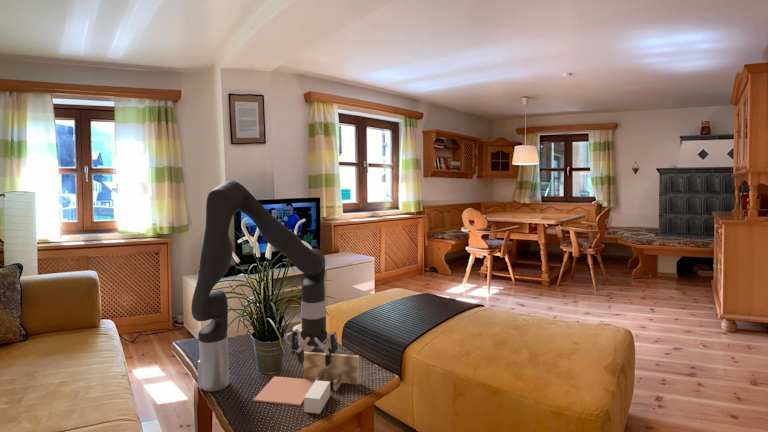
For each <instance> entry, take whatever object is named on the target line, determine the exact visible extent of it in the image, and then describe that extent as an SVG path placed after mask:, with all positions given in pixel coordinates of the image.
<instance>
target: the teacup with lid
mask: <svg viewBox="0 0 768 432" xmlns="http://www.w3.org/2000/svg"><path fill="white" fill-rule="evenodd" d="M296 329H298V331H302V321H300V323H299V324H296V325H294V326H293V327H292V331H291V332H288V333H286V335H285V337H284V339H285V343H287V344H288V345H291V346H292V341H289V340H288V336H292V332H293V331H295V330H296ZM303 341H304V340H303V338H302V337H301V335H300V337H299V338H298V345H299V346H300V345H301V344H302V343H303ZM303 350H304V352H313V350H315V346H309V345H306V346H305V347H304V348H303ZM293 351H294V352H296V353H298V352H297V351H296V350H293Z"/></svg>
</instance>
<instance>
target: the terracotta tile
mask: <svg viewBox="0 0 768 432" xmlns="http://www.w3.org/2000/svg"><path fill="white" fill-rule="evenodd" d="M314 382H315V380H310V379H304V378H296V377H285V376H276V375H275V376H273V377H272V378H271V379H270V380H269V381H268V383H267V384H266V385H265V386H264V387H263V388H262V389H261V390H260V392H259V393H257V395H256V396H255V397H254V398H253V399H252V400H253V402H258V403H259V402H260V403H265V404H266V403H267V404H268V403H269V404H278V405H286V406H287V405H288V406H295V407H301V406H302V404H304V397H305V395H306V394H307V392H308V391H309V389H310V388H311V386H312V385H313V383H314Z"/></svg>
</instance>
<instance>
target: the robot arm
mask: <svg viewBox="0 0 768 432" xmlns="http://www.w3.org/2000/svg"><path fill="white" fill-rule="evenodd" d="M237 212H241V213H242V214H244V215H246V216H247V217H248V218H249V219H250V220H251V221H252V222H253V223H254V224H255V225H256V227H257V229H258V231H259V232H260V234H261V236H262V237H263V239H264V240H265V241H266V242H267V243H268V244H269V245H270V246H271V247H273V248H274V249H275V250H277V251H278V252H279V253H281V254H282V255H284V256H285V257H286V258H287V259H288V261H290V262H291V264H292V265H294V266H295V267H296V269H298V270H299V271H300V272H301V273H302V275H303V282H302V284H301V304H300V305H301V307H300V310H301V311H300V312H301V318H300V319H301V322H302V331H298V329H296V330H295V331H291V332H292V335H291V342H292V345H291V350H292V351H294V350H296V351H297V352H296V351H295V352H296V353H297V361H298V362H299V364H300V365H301V364H303V362H304V350H303V348H304V347H305V346H306V345H309V346H314V348H318V347H320V349H321V350H322V351H323V353H326V355H325V364H326V366H329V364H330V363H331V361H332V358H331V354H336V352H337V351H338V338H337V333H336V332H335V331H333V332H332V333H331V332H328V331H327V308H326V307H327V305H326V299H325V298H326V296H325V295H326V293H325V292H326V291H325V275H326V274H325V273H326V257H325V255H324V252H322V250H320V249H318V248H309V247H308V246H307V245H305V244H304V243H303V242H302V239H301V237H299V236H298V235H297V234H296V233H294V232H293V231H292V230H291V229H289V228H288V227H287V226H286V225H284V224H283V223H281V222H280V221H279V220H278V219H277V218H276V217H274V216H273V215H272V213H270V212H269V211H268V210H267V209H266V207H264V205H263V204H262V203H260V202H259V201H258V199H257V198H256V197H255V196H253V194H252V193H251V192H250V191H249V190H248V189H247V188H246V187H245V186H244V185H243V184H241V183H240V182H238V181H236V180H225V181H224V182H223V183H221V184H219V185H218V186H215V188H213V189H211V190H210V191H209V193H208V194H207V197H206V207H205V229H204V236H203V242H202V248H201V252H200V253H201V254H200V258H199V259H200V260H199V269H198V276H197V281H196V284H195V288H194V292H193V294H192V295H193V296H192V301H191V305H190V306H191V315H192V317H193V319H194V320H195V321H197V322H206V321H210V320H211V321H210V322H209V323H208V324H206V325H205V326H203V327H202V328H201V329H200V330H199V331H198V334H197V337H198V338H197V339H198V351H199V352H198V353H199V359H198V360H197V361H196V364H197V365H196V366H197V381H198V382H197V383H198V384H197V385H198V389H202V391H205V392H217V391H221V390H224V389H225V388H227V387H228V386H229V385H230V369H229V368H230V364H229V344H228V328H229V327H228V326H229V325H228V323H229V320H228V319H229V317H228V316H229V315H228V314H229V306H228V305H229V303H228V298H227V294H226V293H225V292H224V290H221V289H220V290H213V288H214V287H216V285H217V284H218V283H219V282H220V280H222V278H223V277H224V276H226V273H227V272H228V271H229V269H230V267H231V263H232V257H233V252H234V246H233V243H232V240H231V237H230V233H229V232H230V227H231V224H232V223H231V222H232V219H233V217H234V215H235V214H236V213H237ZM300 335H301V337H302V338H303V340H304V341H303V343H302V344H301V345H300V346H299V345H298V338H299V337H300ZM326 338H328V341H330V345H329V342H328V341H327V339H326Z"/></svg>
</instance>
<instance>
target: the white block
mask: <svg viewBox="0 0 768 432" xmlns="http://www.w3.org/2000/svg"><path fill="white" fill-rule="evenodd" d="M330 397H331V382H329V381H318V380H316V381H315V382H314V383H313V385H312V386H311V388H310V389H309V391H308V392H307V394H306V395H305V397H304V401H303V408H304V409H303V411H304V413H310V414H321V412H322V411H323V408H324V407H325V405H326V403H327V402H328V400H329V398H330Z"/></svg>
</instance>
